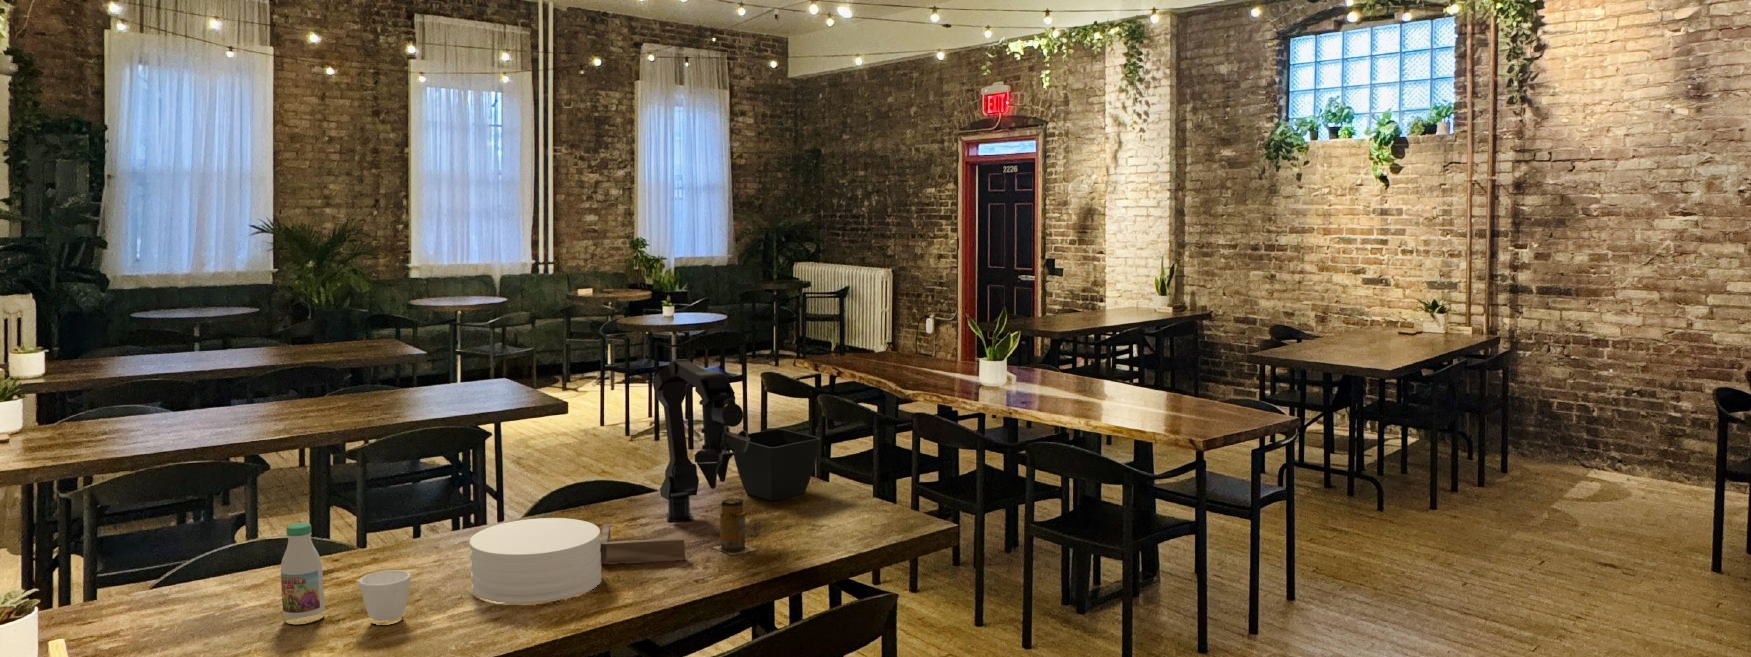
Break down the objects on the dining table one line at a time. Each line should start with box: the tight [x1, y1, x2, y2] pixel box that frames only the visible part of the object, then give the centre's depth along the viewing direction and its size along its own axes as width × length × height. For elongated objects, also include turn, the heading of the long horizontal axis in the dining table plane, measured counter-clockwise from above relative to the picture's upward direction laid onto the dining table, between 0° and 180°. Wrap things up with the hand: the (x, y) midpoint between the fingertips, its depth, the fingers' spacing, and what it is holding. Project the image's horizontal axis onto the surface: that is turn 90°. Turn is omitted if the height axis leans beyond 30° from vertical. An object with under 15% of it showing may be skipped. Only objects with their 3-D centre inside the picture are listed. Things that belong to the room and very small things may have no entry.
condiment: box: [712, 498, 757, 556], centre depth 290 cm, size 7×8×12 cm
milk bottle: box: [280, 522, 326, 618], centre depth 242 cm, size 8×8×20 cm
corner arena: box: [600, 523, 685, 565], centre depth 288 cm, size 18×20×5 cm
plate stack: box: [469, 517, 603, 604], centre depth 264 cm, size 28×28×12 cm
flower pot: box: [733, 428, 821, 502], centre depth 342 cm, size 19×19×17 cm
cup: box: [358, 569, 412, 621], centre depth 242 cm, size 10×10×9 cm
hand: (718, 485), depth 297 cm, fingers open, 9 cm apart
